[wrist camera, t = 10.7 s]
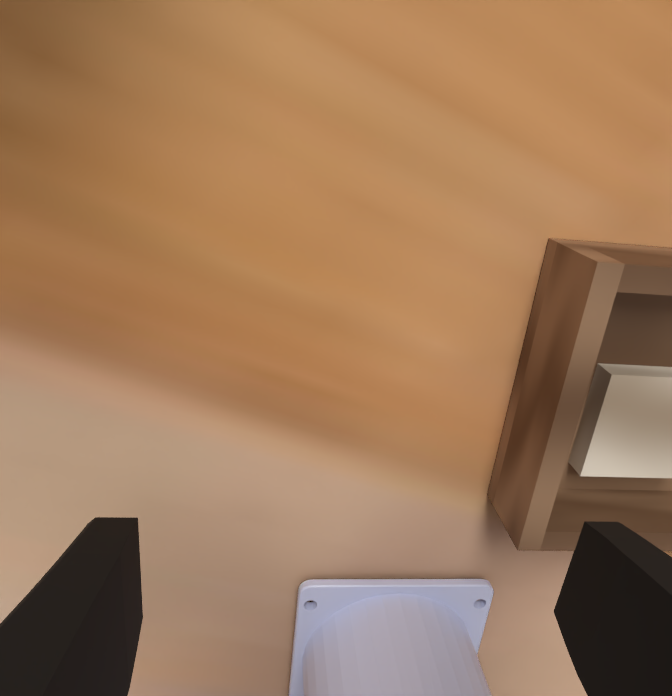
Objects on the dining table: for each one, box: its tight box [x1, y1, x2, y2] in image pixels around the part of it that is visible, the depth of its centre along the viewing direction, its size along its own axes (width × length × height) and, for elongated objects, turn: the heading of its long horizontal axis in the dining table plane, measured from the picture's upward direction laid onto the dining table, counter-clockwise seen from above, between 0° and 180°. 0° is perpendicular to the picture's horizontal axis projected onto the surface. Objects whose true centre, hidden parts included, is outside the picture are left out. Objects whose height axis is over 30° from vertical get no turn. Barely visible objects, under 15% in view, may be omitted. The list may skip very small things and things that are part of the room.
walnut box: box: [487, 238, 672, 551], centre depth 19 cm, size 10×10×3 cm
